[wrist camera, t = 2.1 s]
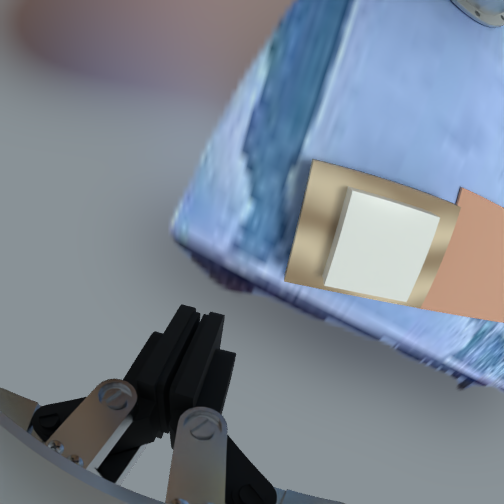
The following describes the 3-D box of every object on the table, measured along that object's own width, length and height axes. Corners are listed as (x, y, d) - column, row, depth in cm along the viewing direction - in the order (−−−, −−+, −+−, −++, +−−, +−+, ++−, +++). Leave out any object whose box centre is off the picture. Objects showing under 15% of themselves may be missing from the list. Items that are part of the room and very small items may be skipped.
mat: (460, 186, 25) (462, 187, 25) (542, 230, 24) (544, 231, 24) (415, 306, 32) (416, 307, 31) (502, 321, 31) (504, 322, 30)
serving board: (310, 156, 27) (313, 160, 23) (443, 198, 26) (461, 207, 22) (285, 263, 32) (284, 281, 28) (409, 290, 31) (420, 308, 27)
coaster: (347, 186, 24) (352, 190, 22) (431, 211, 23) (440, 217, 21) (322, 275, 27) (324, 285, 25) (400, 291, 27) (406, 302, 25)
